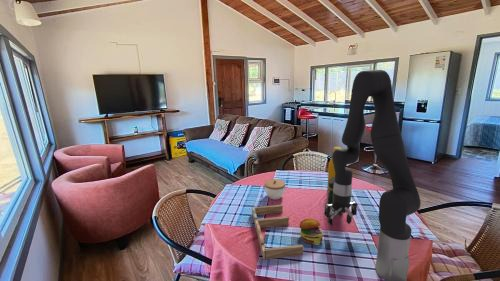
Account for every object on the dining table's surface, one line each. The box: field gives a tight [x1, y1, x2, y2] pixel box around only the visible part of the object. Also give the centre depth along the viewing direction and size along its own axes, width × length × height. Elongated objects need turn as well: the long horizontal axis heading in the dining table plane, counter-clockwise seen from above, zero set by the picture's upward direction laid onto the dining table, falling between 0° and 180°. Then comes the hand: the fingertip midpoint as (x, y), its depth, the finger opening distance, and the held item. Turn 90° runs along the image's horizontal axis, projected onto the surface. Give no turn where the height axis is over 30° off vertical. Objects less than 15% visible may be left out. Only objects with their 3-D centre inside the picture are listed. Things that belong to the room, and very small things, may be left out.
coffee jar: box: [326, 177, 343, 216], centre depth 126 cm, size 10×8×19 cm
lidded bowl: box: [264, 178, 286, 200], centre depth 145 cm, size 13×13×11 cm
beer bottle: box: [327, 146, 342, 191], centre depth 147 cm, size 9×9×29 cm
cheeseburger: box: [299, 217, 325, 246], centre depth 107 cm, size 10×11×10 cm
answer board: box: [251, 204, 304, 260], centre depth 112 cm, size 34×17×5 cm, turn 7°
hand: (339, 223), depth 108 cm, fingers open, 8 cm apart
